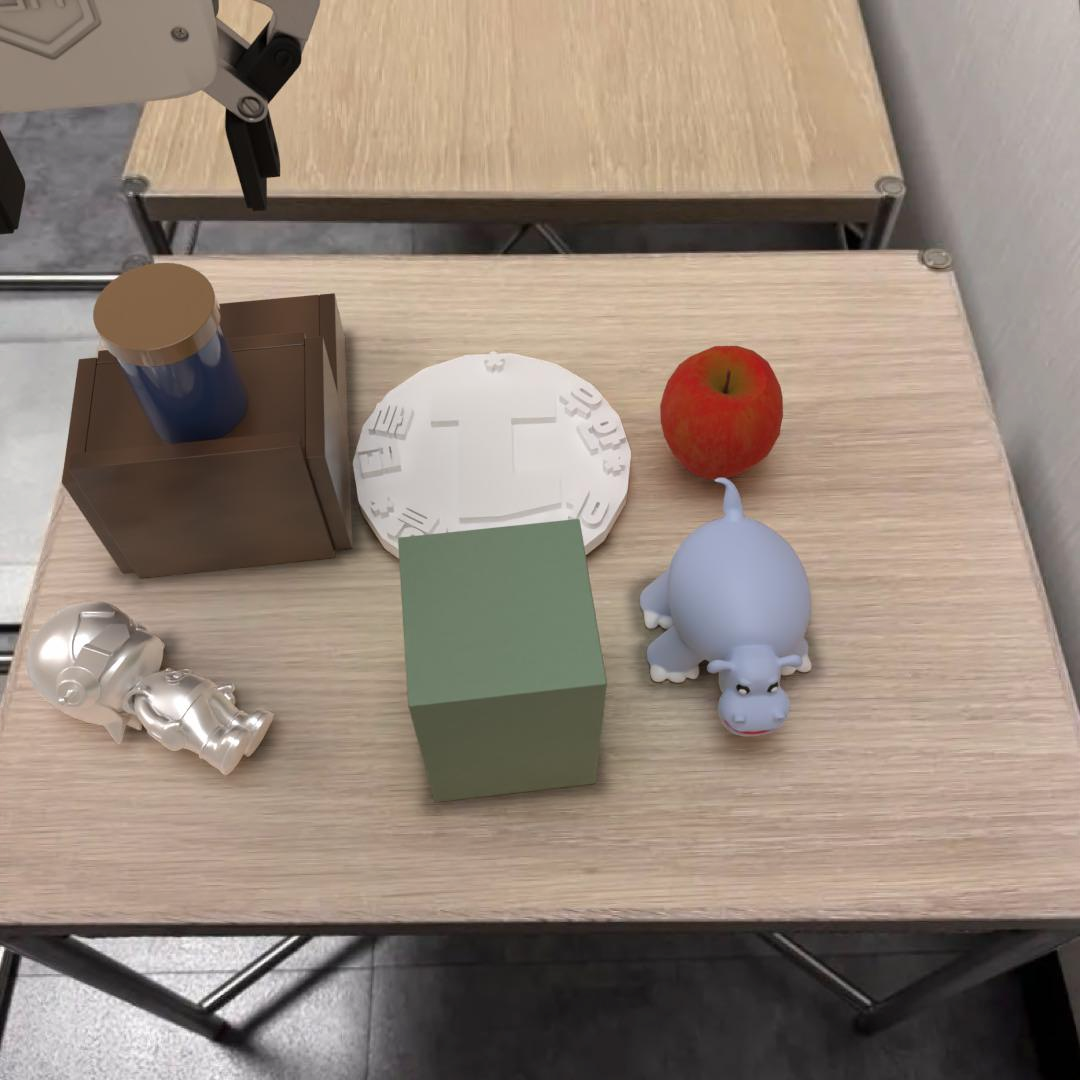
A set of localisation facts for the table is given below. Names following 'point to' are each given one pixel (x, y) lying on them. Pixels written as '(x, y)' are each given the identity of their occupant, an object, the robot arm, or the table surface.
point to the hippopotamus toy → (733, 616)
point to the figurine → (137, 686)
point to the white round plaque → (491, 451)
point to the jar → (173, 351)
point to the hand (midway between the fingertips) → (137, 199)
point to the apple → (722, 411)
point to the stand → (502, 658)
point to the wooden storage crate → (224, 454)
